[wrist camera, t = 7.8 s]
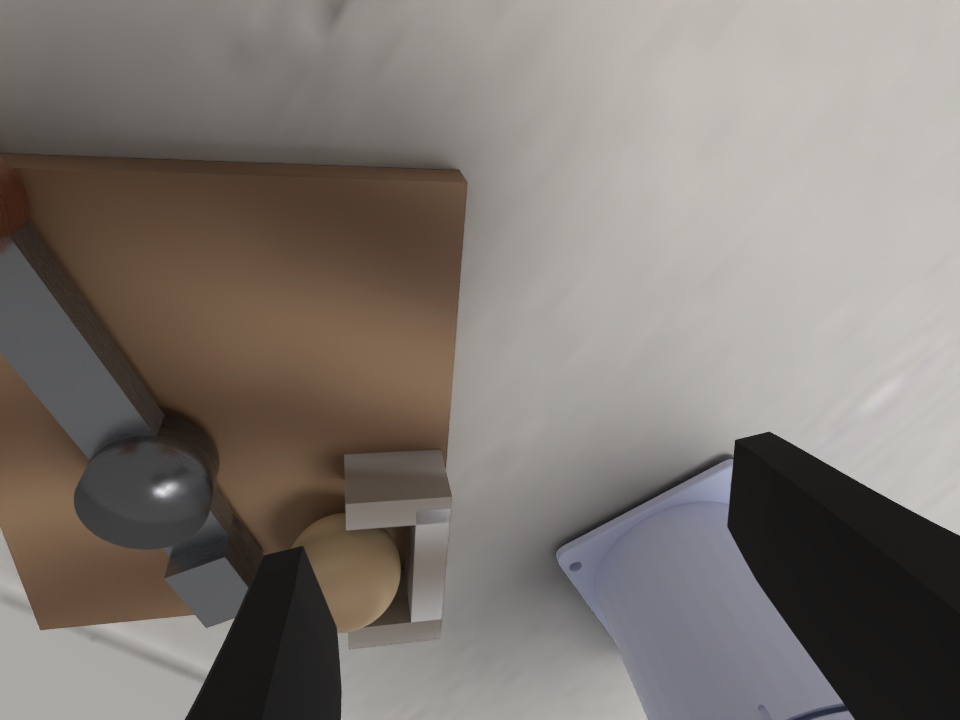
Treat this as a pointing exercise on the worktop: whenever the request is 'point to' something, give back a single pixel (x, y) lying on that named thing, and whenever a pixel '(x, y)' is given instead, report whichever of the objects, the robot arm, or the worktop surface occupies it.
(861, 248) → the worktop surface
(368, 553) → the tan ball
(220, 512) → the lever
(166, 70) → the worktop surface
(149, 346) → the nutcracker base
